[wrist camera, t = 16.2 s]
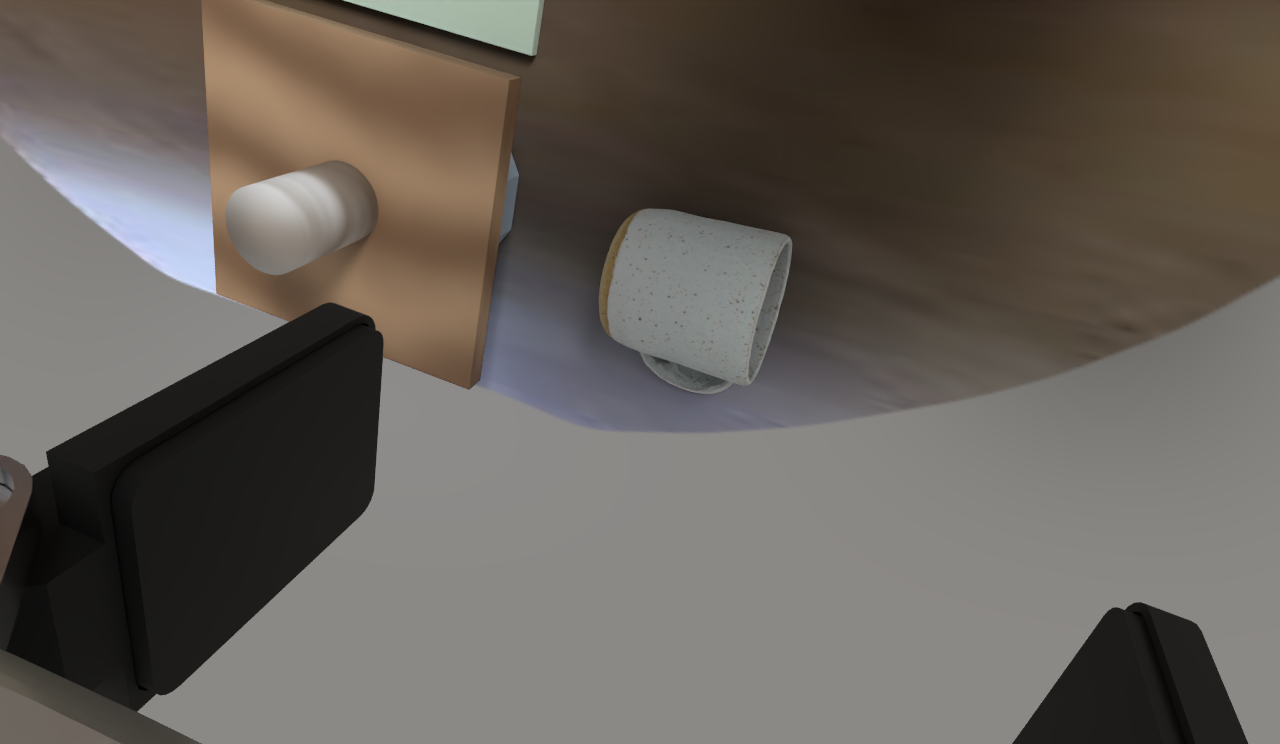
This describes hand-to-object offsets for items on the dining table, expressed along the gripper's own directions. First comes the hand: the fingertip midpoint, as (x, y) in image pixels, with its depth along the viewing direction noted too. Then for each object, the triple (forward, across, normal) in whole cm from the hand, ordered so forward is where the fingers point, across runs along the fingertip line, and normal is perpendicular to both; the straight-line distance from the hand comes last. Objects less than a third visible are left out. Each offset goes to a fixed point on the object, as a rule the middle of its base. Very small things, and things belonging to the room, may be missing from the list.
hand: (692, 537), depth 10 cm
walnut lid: (+26, +23, +9) cm, 36 cm away
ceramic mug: (+33, +5, +10) cm, 35 cm away
